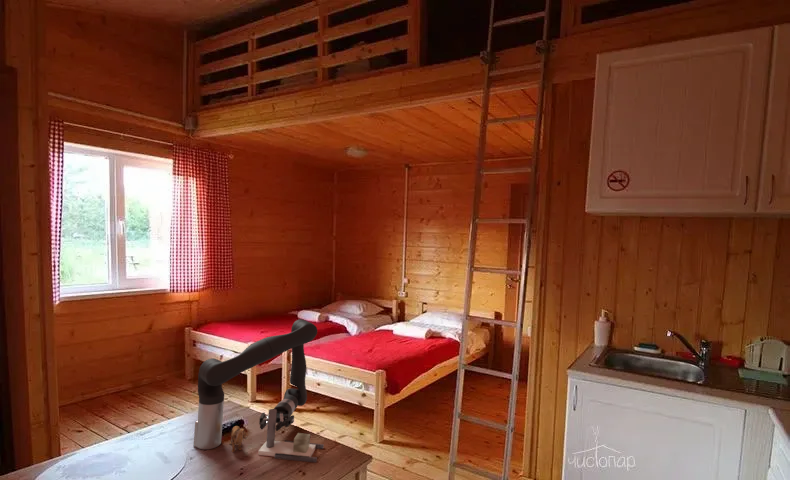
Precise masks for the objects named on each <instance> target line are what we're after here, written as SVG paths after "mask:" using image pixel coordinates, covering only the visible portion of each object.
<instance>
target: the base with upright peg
mask: <svg viewBox="0 0 790 480" xmlns="http://www.w3.org/2000/svg"><path fill="white" fill-rule="evenodd" d="M276 413H277V410H276V409H274V408H270V409H268V414H267V415H268V425H267V433H266V441H265V442H264V443H263V445H262V446H261V447H260V448H259V449H258V454H257V455H258V456H265V457H266V456H269V457H275V454H276V453H278V454H288V455H298V456H308V457H313V454H314V452H315V450H316V448H315V447H316V445H313V444H310V445H309V448H308V450H307V452H306V453H302V452H293V447H294V443H292V442H284V441H282V440H281V441H280V440H276V425H277V423H276Z"/></svg>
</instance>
